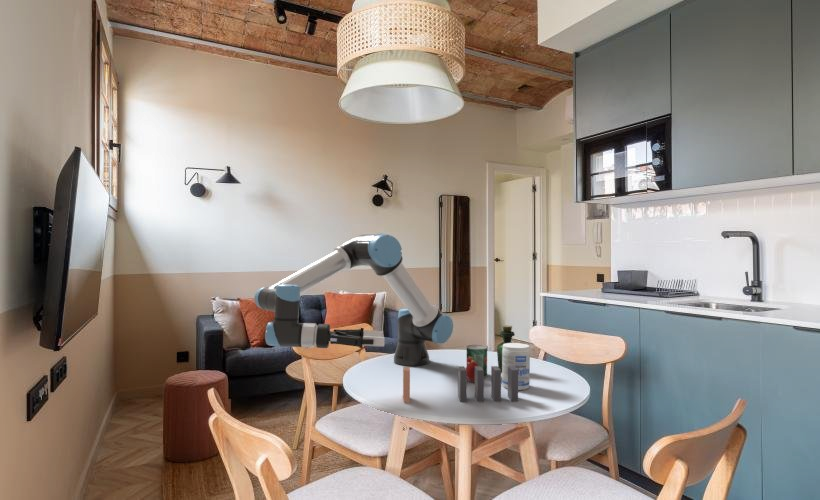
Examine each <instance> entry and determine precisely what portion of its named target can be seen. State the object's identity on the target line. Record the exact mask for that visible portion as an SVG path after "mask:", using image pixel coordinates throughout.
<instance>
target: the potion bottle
mask: <svg viewBox="0 0 820 500" xmlns="http://www.w3.org/2000/svg"><path fill="white" fill-rule="evenodd" d="M512 329H513V326H512V325H502V330H501V331H500V333H499V336H501V337H502V342H500V343H498V344H497V346H496V352H497V353H496V354H497V355H496V356H497V366H498V367H499V369H500V370H501V374H502V350H503V349H502V348H503V344H505V343H513V342H512V338H513V337H515V332H514V331H512Z"/></svg>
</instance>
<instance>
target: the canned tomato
mask: <svg viewBox="0 0 820 500" xmlns="http://www.w3.org/2000/svg"><path fill="white" fill-rule="evenodd" d="M471 360H473V361H474V362H475V363H476V364H478V366H481V367H482V369H483V370H484V379H485V378H487V377H488V346H486V345H482V344H468V345H466V367H467V366H468V365H469V364H470V363H471Z"/></svg>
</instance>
